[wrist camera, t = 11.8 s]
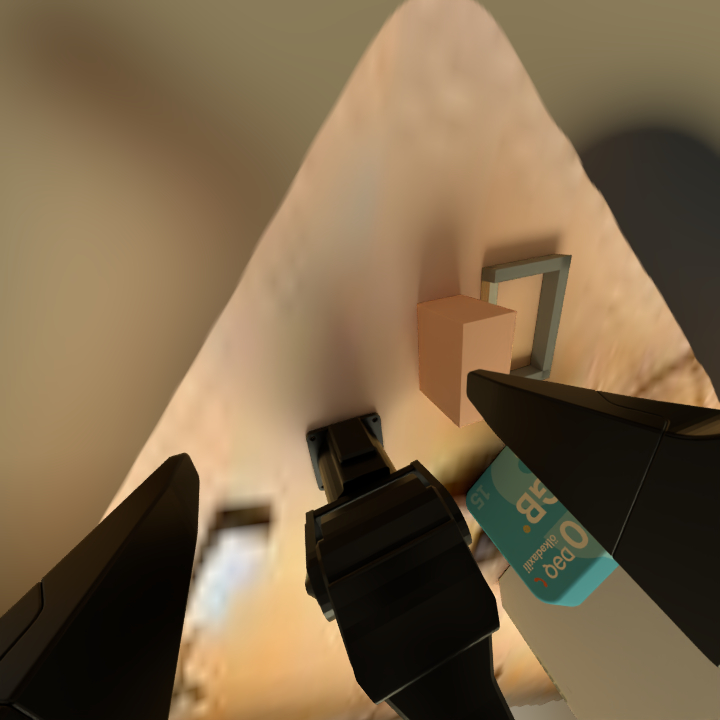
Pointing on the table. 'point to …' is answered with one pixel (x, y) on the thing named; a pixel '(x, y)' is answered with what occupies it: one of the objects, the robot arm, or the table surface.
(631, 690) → the game console
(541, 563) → the data package
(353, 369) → the table surface
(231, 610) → the table surface
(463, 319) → the tall beige box
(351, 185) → the table surface
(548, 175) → the table surface
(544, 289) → the grey rectangular frame
